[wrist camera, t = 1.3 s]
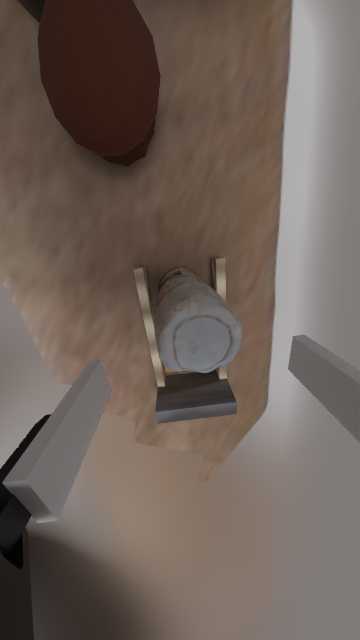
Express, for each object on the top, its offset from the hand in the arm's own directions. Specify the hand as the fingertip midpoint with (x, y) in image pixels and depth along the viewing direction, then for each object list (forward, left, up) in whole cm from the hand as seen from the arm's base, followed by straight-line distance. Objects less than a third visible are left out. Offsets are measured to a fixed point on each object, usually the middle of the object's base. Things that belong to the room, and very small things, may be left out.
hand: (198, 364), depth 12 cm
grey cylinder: (0, 0, -22) cm, 22 cm away
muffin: (-13, -21, -22) cm, 32 cm away
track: (+5, +6, -21) cm, 23 cm away
